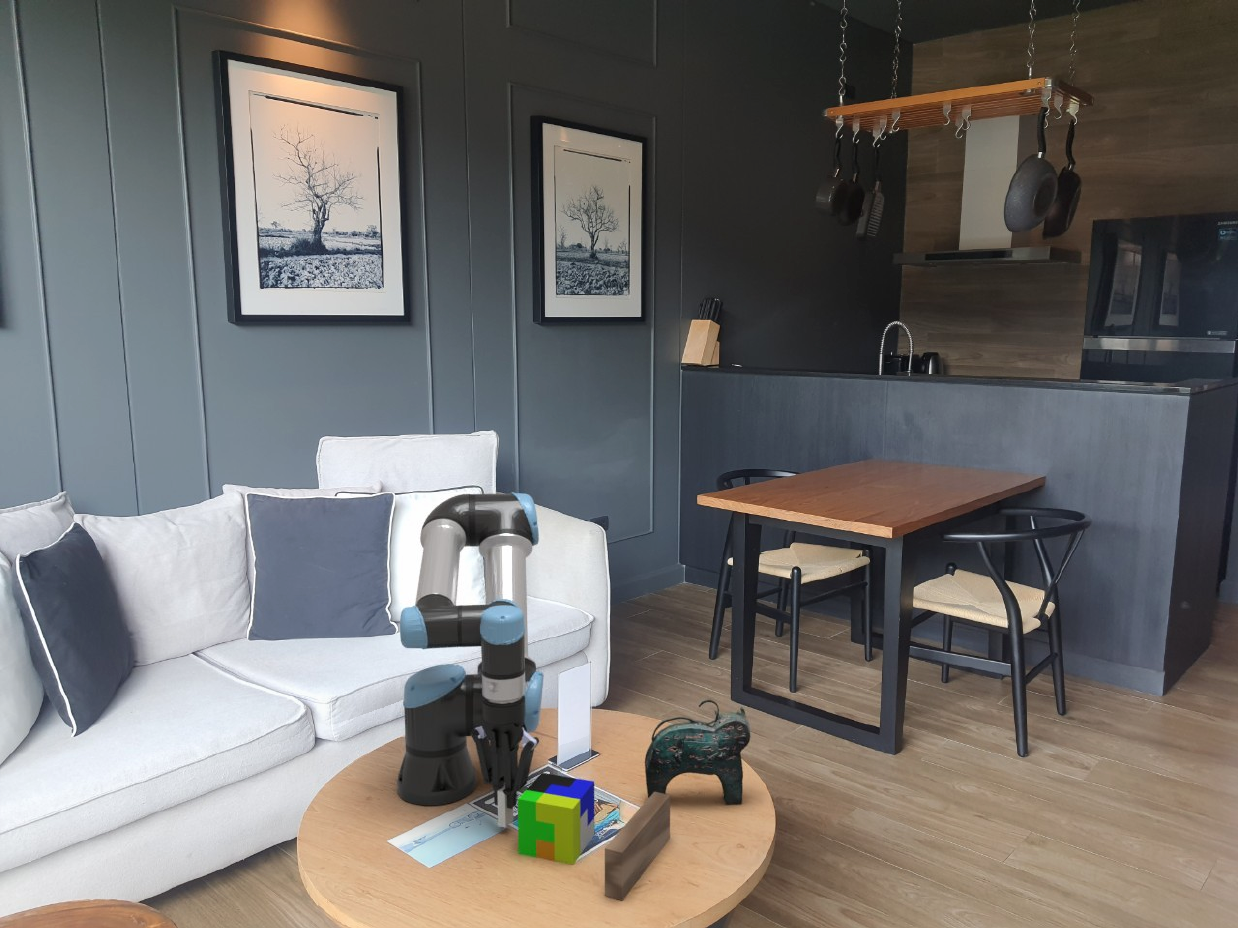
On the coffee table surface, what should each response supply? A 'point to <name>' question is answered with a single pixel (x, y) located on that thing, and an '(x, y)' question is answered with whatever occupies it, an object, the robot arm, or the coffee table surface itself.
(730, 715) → the ceramic cat
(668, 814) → the walnut board
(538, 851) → the puzzle toy
